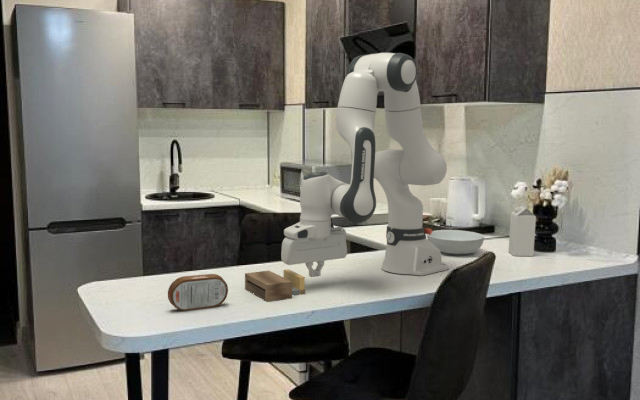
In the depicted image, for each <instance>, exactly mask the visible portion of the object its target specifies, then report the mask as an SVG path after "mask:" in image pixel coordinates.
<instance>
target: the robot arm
mask: <svg viewBox="0 0 640 400" xmlns="http://www.w3.org/2000/svg"><path fill="white" fill-rule="evenodd" d="M417 74H418V68H417V65H416V63H415V60H414V59H413V57H412V56H411V55H409V54H406V53H402V52H394V53H393V52H379V53H370V54H360V55H358V56H356V57H353V58H352V60H351V62H350V64H349V66H348V69H347V75H346V76H345V78H344V81H343V84H342V85H341V86H342V87H341V89H340V94H339V99H338V103H337V109H336V118H335V120H336V121H335V125H336V130H337V132H338V135H339V136H340V137H341V138H342V139H343V140H344V141H346V144H348V146H349V149H350V151H351V157H352V159H351V171H350V172H351V173H350V174H351V175H350V176H351V177H350V182H349V183H346V182H343V181H341V180H339V179H336V178H335V177H333V176H332V175H330V174H329V173H328V172H326V171H315V172H311V173H308V174H306V175H304V177H303V178H302V180H301V183H300V184H301V185H300V193H299V195H300V196H299V205H300V211H301V212H300V216H299V222H296V223H295V224H293V225H291V226H288V227H286V228H285V229H283V235H284V236H285V237H284V239H283V240H282V242H281V253H280V254H281V255H280V257H281V262H282V263H283V264H285V265H287V266H292V265H301V264H305V267H306V268H307V270H308V276H309V277H310V278H316V277H321V274H322V273H321V272H322V269H323V268H324V265H325V261H333V260H338V259H339V260H340V259H345V258H346V257H347V255H348V247H347V239H346V238H347V231H346V229H345V228H343V227H342V226H337V227H332V226H331V225H332V221H331V220H332V216H333V215H337V216H338V217H340V218H344V219H345V220H348V221H350V222H352V223H353V224H362V223H365V222H366V221H368V220H369V219H370V218H371V217H372V216H373V215H374V213H375V211H376V208H377V198H376V197H377V196H376V193H375V189H374V188H375V187H374V185H375V184H374V181H377V182H378V184H380V186H381V188H382V190H383V192H384V194H385V196H386V197H385V198H386V201H387V215H388V217H387V222H388V223H387V225H386V233H385V236H386V237H385V238H386V248H385V253H384V258H383V262H382V265H381V269H382V271H385V272H387V273H393V274H399V275H414V276H426V275H430V274H434V273H437V272H442V271H446V270H447V271H448V270H449V269H450V268H449V265H447V264H446V263H443V261H442V252H440V250H439V249H438V248H437V247H436V246H434V245H433V244H432V243H431V242H430V241H429V240H428V238H427V234H429V235H431V233H432V232H433V231H434V230H433V229H432V228H428V227H426V228H424V227H423V221H424V220H423V219H424V217H423V215H424V205H423V202H422V201H421V200H420V199H419V198H418V197H416V196H415V195H414V194H413V193H412V192H411V189H410V187H409V185H412V186H433V185H434V186H435V185H438V184H441V182H442V181H443V180H444V179H445V177H446V174H447V170H448V168H447V167H448V166H447V165H448V164H447V161H446V160H445V157H444V156H443V155H442V154H441V153H440V152H438V151H437V150H436V149H435V148H434V147H433V146H432V144H431V143H430V142H429V140H428V139H427V137H426V134H425V131H424V127H423V126H424V125H423V120H422V119H423V118H422V108H421V100H420V99H421V98H420V92H419V87H418V83H417V80H416V79H417ZM379 92H383V94H384V95H383V96H384V97H383V101H384V103H383V104H384V114H385V116H384V117H385V124H386V125H385V126H386V127H385V128H386V133H387V134H388V136H389V137H390V138H391V139H393V140H394V141H396V142H397V143H398V144H399V145H400V147H401V148H402V149H395V148H394V149H385V150H379V151H376V137H375V122H376V121H375V120H376V115H377V113H376V112H377V105H378V101H377V100H378V94H379ZM374 179H375V180H374ZM314 263H316V264H317V265H316V267H315V268H313V266H314Z"/></svg>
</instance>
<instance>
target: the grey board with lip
mask: <svg viewBox="0 0 640 400" xmlns="http://www.w3.org/2000/svg"><path fill="white" fill-rule="evenodd" d="M283 278H285V279H288V280H290V281H292V295H294V296H300V295H299V294H301V295H305V292H306V291H305V289H306V288H305V287H306V284H305V281H306V278H305V276H304V275H302V274H299V273H297V272H296V271H293V270H291V269H287V268H285V269H283Z"/></svg>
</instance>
